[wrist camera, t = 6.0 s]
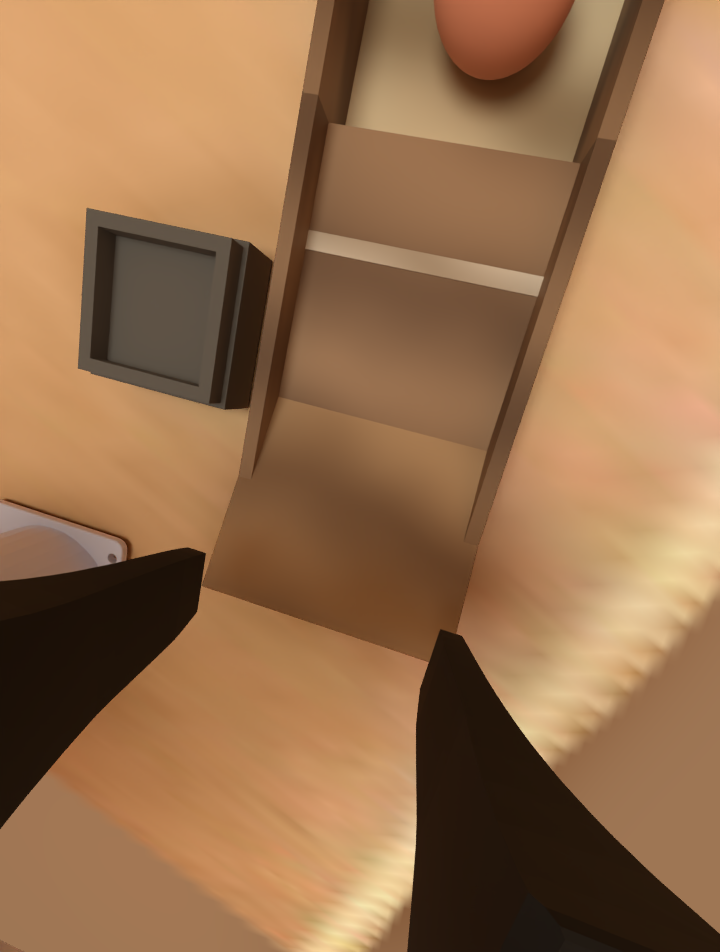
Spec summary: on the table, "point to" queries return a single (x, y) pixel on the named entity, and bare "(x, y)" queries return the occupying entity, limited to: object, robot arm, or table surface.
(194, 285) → the grey square tray
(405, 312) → the lane
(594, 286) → the table surface
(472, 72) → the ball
